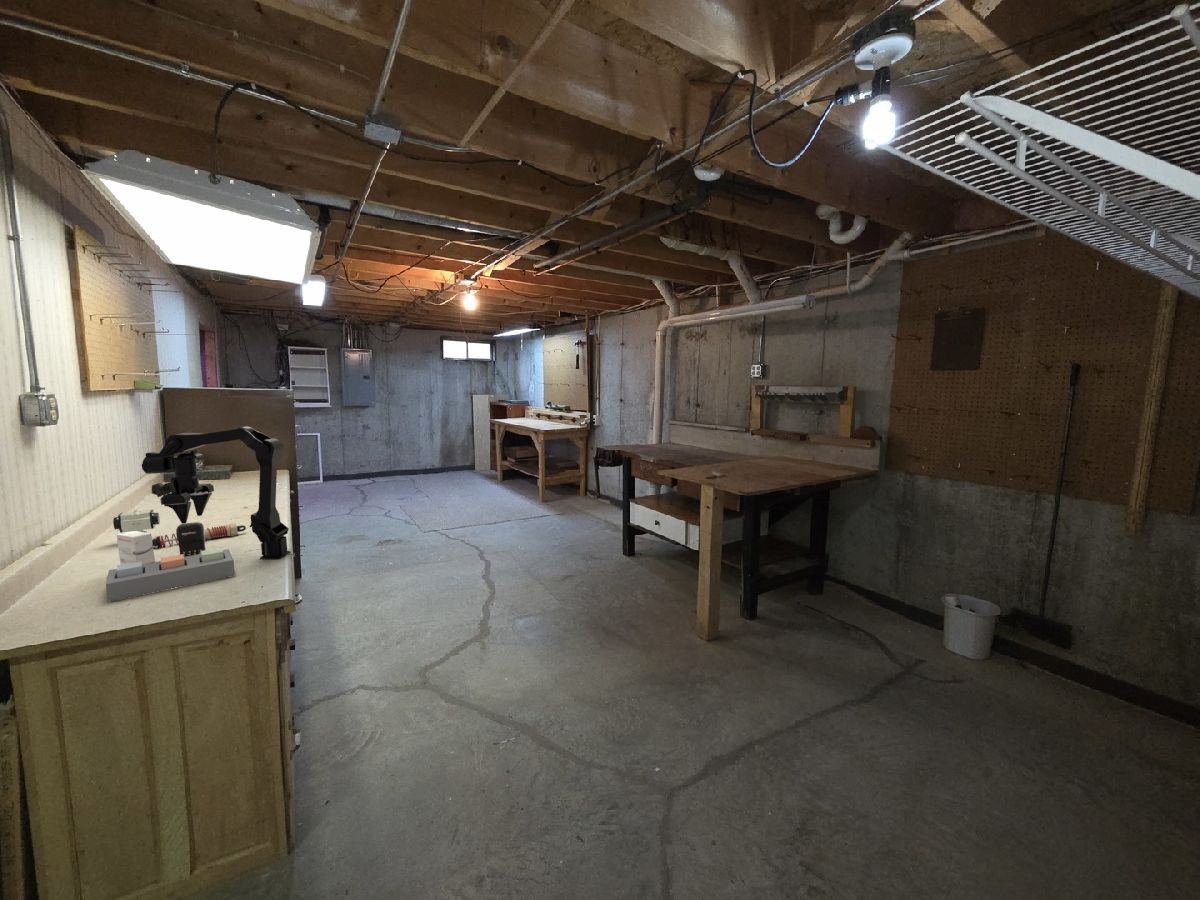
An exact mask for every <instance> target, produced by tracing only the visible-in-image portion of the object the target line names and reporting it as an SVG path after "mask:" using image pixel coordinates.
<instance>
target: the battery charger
mask: <svg viewBox="0 0 1200 900" xmlns="http://www.w3.org/2000/svg"><path fill="white" fill-rule="evenodd" d="M204 530H205V526H204V524H203V523H202V522H200V521H195V522H193V521H192V522H186V523H183V524H182V523H180V524H179V525H178V526H177V528H176V529H175V531H176V532H175V533H176V534H175V537H176V538H177V542H178V544H179V545H178V547H179V555H181V554H183V555H184V557H186V556H192V555H198V554H201V551H204V550H207V549H206V540H205V532H204Z"/></svg>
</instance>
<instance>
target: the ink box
mask: <svg viewBox="0 0 1200 900" xmlns="http://www.w3.org/2000/svg"><path fill="white" fill-rule="evenodd" d="M152 540H153V536H152V533H150V532H147V533H145V532H139V531H130V532H122V533H118V534H116V541H117V548H118V555H119V556H118V557H119V565H124V564H129V563H135V562H141V561H142V564H147V563H152V562H156V559H155V552H154V551H155V550H154V546H153V544H152Z"/></svg>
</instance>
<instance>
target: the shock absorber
mask: <svg viewBox="0 0 1200 900" xmlns="http://www.w3.org/2000/svg"><path fill="white" fill-rule="evenodd" d="M246 529H247V528H246V526H245V525H237V523H236V522H234V523H228V524H225V525H221V526H220V525H219V526H212V527H211V528H208V527H207V528H206V529H204V532H205V541H207V540H208V539H212V538H213V539H215V538H216V539H218V538H219V537H220V538H224V536H225V537H226V536H230V537H231V535H236V536H238V533H240V532H244V531H245V530H246ZM155 537H156V538H152V544H153V547H157V549H159V548H161V547H162V545H163V547H162V548H166V543H167V542H168V544H169V546H170V547H172V546H171V544H172V545H173V542H175V543H176V545H178V541H177V536H176V534H175V533H172V536H171V538H169V536H168V534H165V535H164V537H163V535H158V536H155ZM206 539H207V540H206ZM178 546H179V545H178Z"/></svg>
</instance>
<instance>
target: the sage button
mask: <svg viewBox="0 0 1200 900" xmlns="http://www.w3.org/2000/svg"><path fill="white" fill-rule="evenodd" d="M223 550H224V549H223V548H222V547H217V548H211V549H206V550H204V551H201V560H202V562H207V561H213V560H218V559H223V558H224V556H223Z"/></svg>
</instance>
